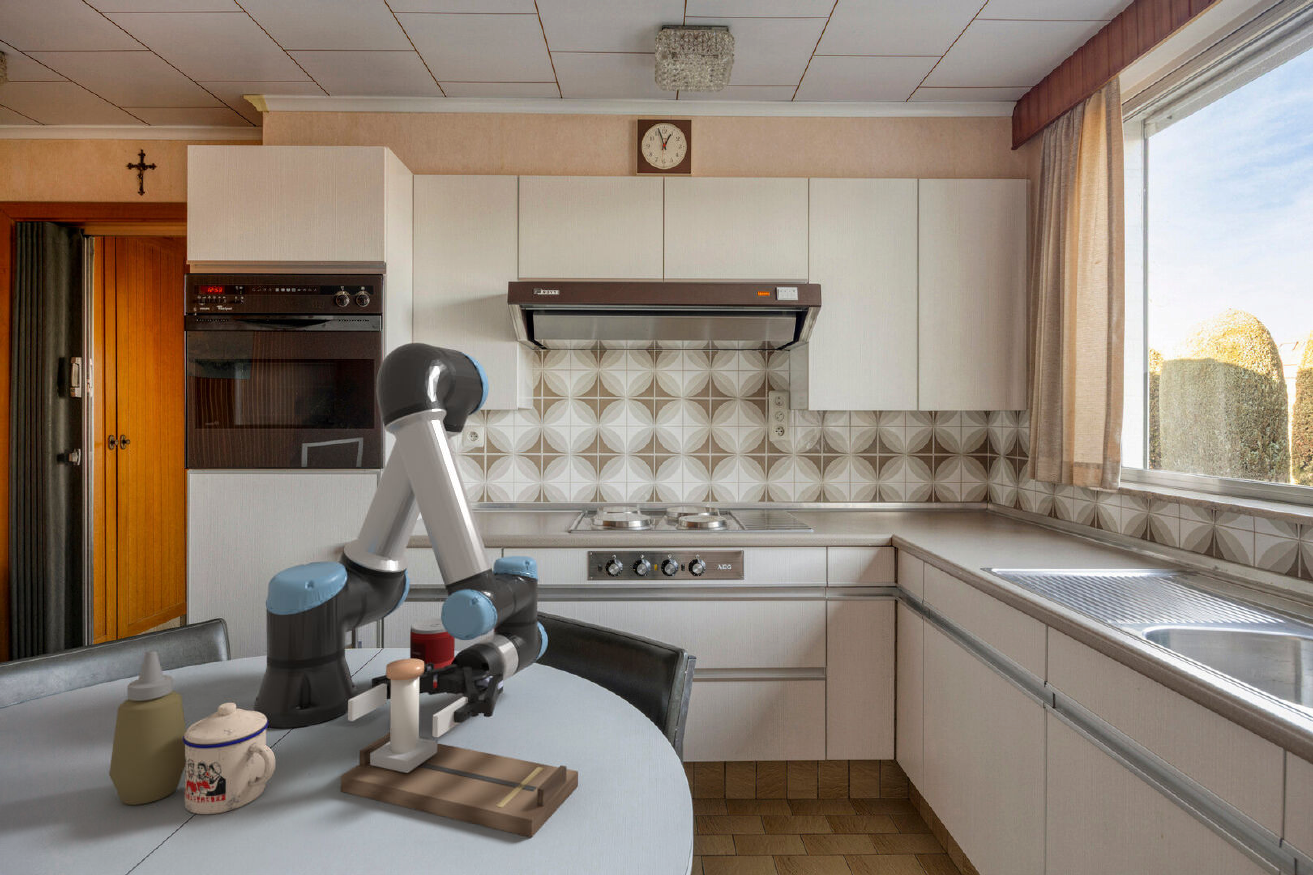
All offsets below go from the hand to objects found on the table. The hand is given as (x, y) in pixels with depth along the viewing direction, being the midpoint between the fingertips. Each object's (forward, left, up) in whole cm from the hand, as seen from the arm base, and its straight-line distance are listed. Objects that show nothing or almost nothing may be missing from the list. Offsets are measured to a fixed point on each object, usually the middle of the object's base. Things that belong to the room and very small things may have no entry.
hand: (391, 718), depth 88 cm
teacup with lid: (-16, -9, -9) cm, 21 cm away
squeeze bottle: (-27, -12, -9) cm, 31 cm away
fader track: (+9, +3, -9) cm, 13 cm away
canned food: (-18, +32, -9) cm, 38 cm away
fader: (0, +3, -7) cm, 8 cm away
